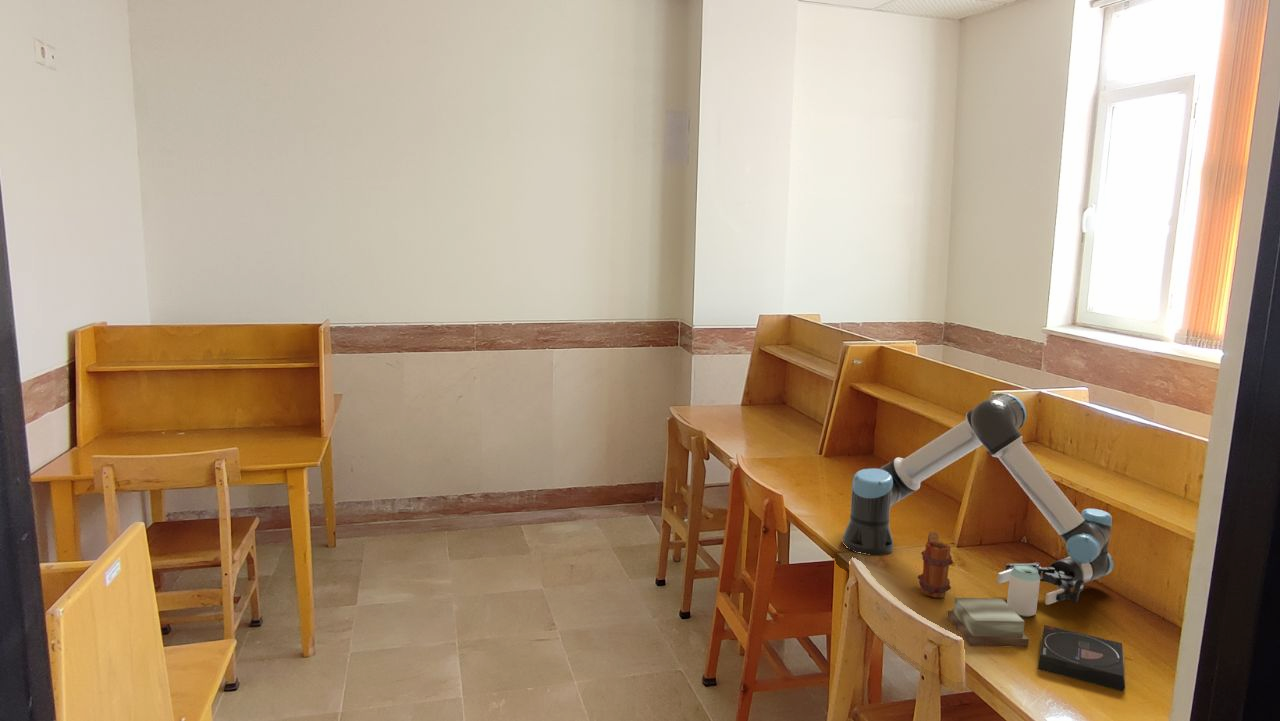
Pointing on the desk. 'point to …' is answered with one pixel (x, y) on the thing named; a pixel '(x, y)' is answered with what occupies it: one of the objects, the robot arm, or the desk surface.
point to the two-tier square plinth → (988, 622)
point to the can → (1023, 590)
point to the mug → (935, 567)
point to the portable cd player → (1082, 657)
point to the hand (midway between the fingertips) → (1022, 588)
